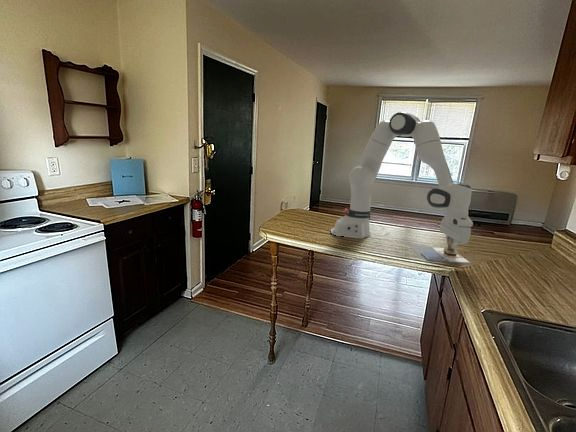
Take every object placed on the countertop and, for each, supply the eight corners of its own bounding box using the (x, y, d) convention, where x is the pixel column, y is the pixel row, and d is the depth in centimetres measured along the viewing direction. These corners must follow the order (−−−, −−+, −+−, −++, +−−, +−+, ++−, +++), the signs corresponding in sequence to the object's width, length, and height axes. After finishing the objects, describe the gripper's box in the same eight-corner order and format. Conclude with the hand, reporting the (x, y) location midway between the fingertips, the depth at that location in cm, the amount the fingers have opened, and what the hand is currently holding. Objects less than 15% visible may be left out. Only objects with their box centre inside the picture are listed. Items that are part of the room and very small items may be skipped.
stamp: (447, 255, 145) (450, 239, 143) (443, 252, 149) (445, 236, 147) (456, 256, 145) (460, 239, 143) (452, 252, 149) (455, 237, 147)
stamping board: (426, 263, 138) (426, 258, 137) (409, 248, 157) (410, 243, 157) (471, 266, 138) (472, 260, 137) (449, 250, 157) (450, 245, 157)
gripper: (439, 212, 153) (434, 239, 156) (460, 223, 133) (455, 253, 137) (451, 213, 153) (447, 240, 156) (475, 224, 133) (469, 254, 136)
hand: (451, 246), depth 146 cm, fingers closed on stamp, 3 cm apart
